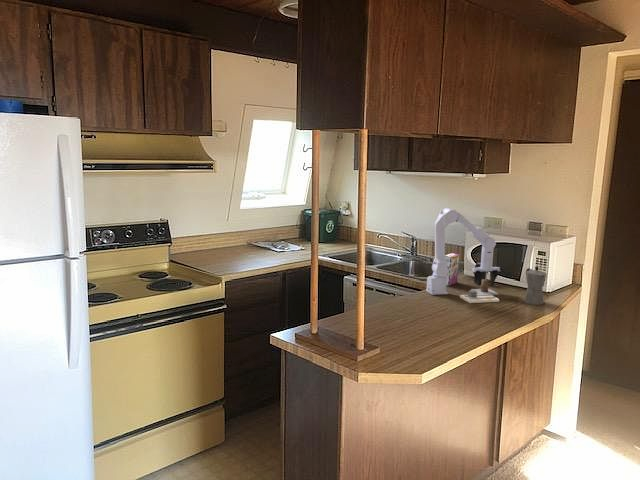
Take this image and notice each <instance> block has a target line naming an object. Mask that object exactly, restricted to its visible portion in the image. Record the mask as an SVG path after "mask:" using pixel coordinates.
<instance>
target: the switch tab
mask: <svg viewBox="0 0 640 480" xmlns="http://www.w3.org/2000/svg"><path fill="white" fill-rule="evenodd" d="M467 295H468V297H470V298H472V297H477V292H476V291H474V290H471V289H470V290H468V293H467Z"/></svg>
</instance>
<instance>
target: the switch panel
mask: <svg viewBox="0 0 640 480" xmlns="http://www.w3.org/2000/svg"><path fill="white" fill-rule="evenodd" d="M459 298H460V299H463V301H465V302H467V303H469V304H477V303H479V304H480V303H482V304H483V303H497V302H498V303H499V302H500V299H499V298H498V297H496V296H495V295H490V294H477V297H472V298H470V297H468V294H460V295H459Z"/></svg>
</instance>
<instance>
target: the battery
mask: <svg viewBox="0 0 640 480" xmlns="http://www.w3.org/2000/svg"><path fill="white" fill-rule="evenodd" d="M476 267H481V262H477V263H476V264H475V266H474V268H476ZM481 274H482V276H481V281H480V285H481V283H482V279H487V275H488V274H489V271H485V272H481ZM473 275H474V274H473ZM473 283H475V284H477V283H476V278H475V275H474V278H473Z"/></svg>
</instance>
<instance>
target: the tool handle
mask: <svg viewBox="0 0 640 480" xmlns="http://www.w3.org/2000/svg"><path fill="white" fill-rule="evenodd" d="M489 285H490V279H487V278H486V279H482V283H481V284H480V289H481V291H482V292H488V289H489Z"/></svg>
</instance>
